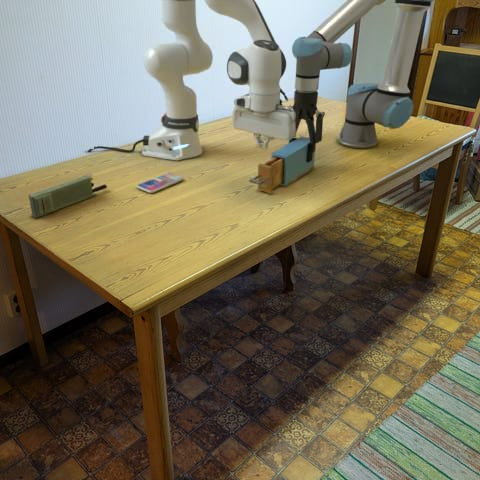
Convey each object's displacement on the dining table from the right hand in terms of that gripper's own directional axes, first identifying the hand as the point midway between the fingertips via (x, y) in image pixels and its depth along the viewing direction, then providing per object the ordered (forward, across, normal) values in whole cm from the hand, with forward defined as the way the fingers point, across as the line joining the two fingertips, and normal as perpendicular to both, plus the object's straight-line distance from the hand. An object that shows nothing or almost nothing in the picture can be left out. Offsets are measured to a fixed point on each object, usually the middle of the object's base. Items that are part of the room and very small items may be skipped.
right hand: (301, 158), depth 173 cm
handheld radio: (+5, +42, +64) cm, 76 cm away
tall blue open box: (+4, 0, +5) cm, 7 cm away
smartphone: (+5, +30, +38) cm, 49 cm away
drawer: (+4, 0, +16) cm, 17 cm away
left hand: (-10, 0, +24) cm, 27 cm away
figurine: (+4, +29, -26) cm, 39 cm away
